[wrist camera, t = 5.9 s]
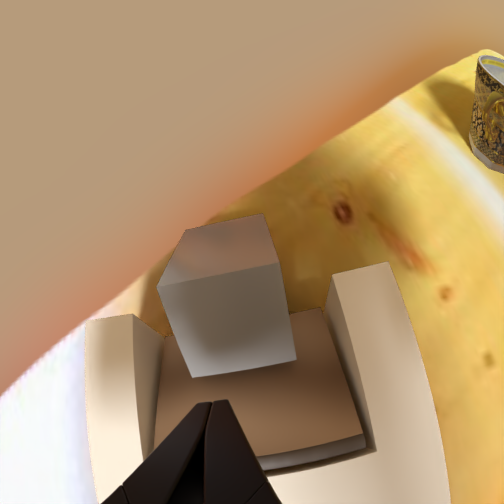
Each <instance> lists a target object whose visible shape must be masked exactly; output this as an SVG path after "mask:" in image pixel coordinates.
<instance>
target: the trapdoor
mask: <svg viewBox="0 0 504 504" xmlns="http://www.w3.org/2000/svg"><path fill="white" fill-rule="evenodd" d="M289 317H290V323H291V329H292V334H293V340H294V346H295V352H296V358H297V360H294V361H289V362H284V363H279V364H274V365H269V366H264V367H259V368H253V369H247V370H241V371H235V372H229V373H223V374H216V375H209V376H202V377H194V378H192V376H191V374H190V371H189V369H188V367H187V364H186V362H185V360H184V357H183V355H182V353H181V350H180V348H179V345H178V343H177V340H176V338H175V335H172V336H166V337H165V344H164V351H163V359H162V367H161V376H160V384H159V394H158V403H157V414H156V425H155V437H154V450H155V448H156V447H157V446H158V445H159V444H160V443H161V442H162V441H163V440H164V439H165V438H166V437H167V435H168V434H169V433H170V432H171V431H172V430H173V429H174V428H175V427H176V426H177V425H178V423H179V422H180V421H181V420H182V419H183V418H184V417H185V416H186V415H187V413H188V412H189V411H190V410H191V409H192V408H193V407H194V406H195V404H197V403H199V402H207V401H211V402H213V401H216V400H223V399H228V400H229V402H230V404H231V406H232V408H233V411H234V413H235V415H236V417H237V419H238V421H239V423H240V425H241V427H242V429H243V431H244V434H245V436H246V438H247V440H248V442H249V444H250V446H251V448H252V450H253V452H254V454H255V455H256V457H257V459H258V461H259V463H260V465H261V467H262V469H263V471H264V470H271V469H277V468H283V467H289V466H294V465H299V464H304V463H309V462H314V461H318V460H323V459H327V458H331V457H335V456H339V455H343V454H346V453H350V452H353V451H357V450H360V449H364V448H366V442H365V437H364V434H363V431H362V428H361V425H360V421H359V418H358V415H357V412H356V409H355V406H354V403H353V400H352V397H351V394H350V391H349V388H348V385H347V382H346V379H345V376H344V373H343V370H342V367H341V364H340V361H339V358H338V355H337V352H336V350H335V347H334V344H333V341H332V338H331V335H330V333H329V330H328V327H327V324H326V321H325V319H324V316H323V313H322V310H321V308H320V307H319V308H315V309H310V310H306V311H301V312H297V313H292V314H289Z"/></svg>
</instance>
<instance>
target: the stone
mask: <svg viewBox="0 0 504 504" xmlns="http://www.w3.org/2000/svg"><path fill="white" fill-rule="evenodd" d="M156 288H157V291H158V294H159V296H160V299H161V302H162V304H163V307H164V310H165V312H166V315H167V318H168V320H169V323H170V325H171V328H172V330H173V333H174V335H175V338H176V340H177V343H178V345H179V348H180V350H181V353H182V355H183V357H184V360H185V362H186V364H187V367H188V369H189V371H190V374H191V376H192V378H194V377H202V376H209V375H216V374H223V373H229V372H235V371H241V370H247V369H253V368H259V367H264V366H269V365H274V364H279V363H284V362H289V361H294V360H297V358H296V352H295V346H294V340H293V334H292V329H291V323H290V317H289V311H288V306H287V300H286V294H285V289H284V283H283V278H282V272H281V267H280V262H279V259H278V256H277V253H276V250H275V247H274V244H273V241H272V238H271V235H270V232H269V229H268V226H267V223H266V220H265V217H264V215H263V213H261V214H257V215H252V216H247V217H242V218H238V219H233V220H228V221H224V222H219V223H215V224H210V225H205V226H201V227H197V228H192V229H188V230H185V232H184V234H183V236H182V237H181V239H180V241H179V243H178V245H177V247H176V249H175V251H174V253H173V255H172V257H171V259H170V260H169V262H168V264H167V266H166V268H165V270H164V272H163V274H162V276H161V278H160V280H159V282H158V284H157V286H156Z"/></svg>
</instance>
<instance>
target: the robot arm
mask: <svg viewBox="0 0 504 504" xmlns="http://www.w3.org/2000/svg"><path fill="white" fill-rule="evenodd" d="M122 485H123V486H122ZM122 485H120V486H119V487H118V488H117V489H116V490H115V491H114V492H113V493H112V494H111V495H109V496H108V497H107V498H106V499H105V500H104V501H103V502H102V503H101V504H282V502H281V501H280V499H279V498H278V496H277V494H276V493H275V491H274V489H273V487H272V485H271V484H270V482H269V480H268V478H267V476H266V475H265V473H264V471H263V469H262V467H261V465H260V463H259V461H258V459H257V457H256V455H255V454H254V452H253V450H252V448H251V446H250V444H249V442H248V440H247V438H246V436H245V434H244V431H243V429H242V427H241V425H240V423H239V421H238V419H237V417H236V415H235V413H234V411H233V408H232V406H231V404H230V402H229V400H228V399H223V400H216V401H213V402H211V401H207V402H199V403H197V404H195V406H194V407H193V408H192V409H191V410H190V411H189V412H188V413H187V415H186V416H185V417H184V418H183V419H182V420H181V421H180V422H179V423H178V425H177V426H176V427H175V428H174V429H173V430H172V431H171V432H170V433H169V434H168V435H167V437H166V438H165V439H164V440H163V441H162V442H161V443H160V444H159V445H158V446H157V447H156V448H155V450H154V451H153V452H152V453H151V454H150V455H149V456H148V457H147V458H146V459H145V460H144V461H143V462H142V463H141V464H140V465H139V466H138V467H137V468H136V469H135V470H134V472H133V473H132V474H131V475H130V476H129V477H128V478H127V479H126V480H125V481H124V482H123V483H122Z"/></svg>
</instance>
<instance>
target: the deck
mask: <svg viewBox="0 0 504 504" xmlns="http://www.w3.org/2000/svg"><path fill="white" fill-rule="evenodd" d="M323 316H324V319H325V321H326V324H327V327H328V330H329V333H330V335H331V338H332V341H333V344H334V347H335V350H336V352H337V355H338V358H339V361H340V364H341V367H342V370H343V373H344V376H345V379H346V382H347V385H348V388H349V391H350V394H351V397H352V400H353V403H354V406H355V409H356V412H357V415H358V418H359V421H360V425H361V428H362V431H363V434H364V437H365V442H366V448H364V449H360V450H357V451H353V452H350V453H346V454H343V455H339V456H335V457H331V458H327V459H323V460H318V461H314V462H309V463H304V464H299V465H294V466H289V467H283V468H277V469H271V470H264V473H265V475H266V476H267V478H268V480H269V482H270V484H271V485H272V487H273V489H274V491H275V493H276V494H277V496H278V498H279V499H280V501H281V502H282V504H451V499H450V490H449V482H448V475H447V468H446V462H445V455H444V450H443V444H442V439H441V434H440V429H439V424H438V419H437V415H436V410H435V406H434V402H433V398H432V394H431V390H430V386H429V382H428V378H427V374H426V371H425V367H424V364H423V360H422V357H421V353H420V350H419V347H418V343H417V340H416V337H415V334H414V331H413V328H412V324H411V321H410V318H409V316H408V313H407V310H406V307H405V304H404V301H403V298H402V296H401V293H400V290H399V287H398V285H397V282H396V279H395V277H394V274H393V272H392V269H391V267H390V264H389V262H388V261H387V262H383V263H379V264H374V265H370V266H366V267H362V268H358V269H353V270H349V271H345V272H340V273H336V274H332V277H331V281H330V286H329V291H328V295H327V300H326V304H325V309H324V313H323ZM164 344H165V338H164V337H163V336H161V335H160V334H159V333H157V332H156V331H155V330H153V329H152V328H151V327H149V326H148V325H147V324H145V323H144V322H143V321H141V320H140V319H139V318H138V317H136V316H135V315H134V314H127V315H120V316H114V317H108V318H101V319H95V320H88V321H86V328H85V396H86V415H87V428H88V439H89V448H90V456H91V464H92V471H93V478H94V484H95V489H96V495H97V500H98V504H101V503H102V502H103V501H104V500H105V499H106V498H107V497H108V496H109V495H111V494H112V493H113V492H114V491H115V490H116V489H117V488H118V487H119V486H120V485H122V483H123V482H124V481H125V480H126V479H127V478H128V477H129V476H130V475H131V474H132V473H133V472H134V470H135V469H136V468H137V467H138V466H139V465H140V464H141V463H142V462H143V461H144V460H145V459H146V458H147V457H148V456H149V455H150V454H151V453H152V452H153V451H154V437H155V425H156V414H157V403H158V394H159V384H160V376H161V367H162V359H163V351H164ZM122 486H123V485H122Z"/></svg>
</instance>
